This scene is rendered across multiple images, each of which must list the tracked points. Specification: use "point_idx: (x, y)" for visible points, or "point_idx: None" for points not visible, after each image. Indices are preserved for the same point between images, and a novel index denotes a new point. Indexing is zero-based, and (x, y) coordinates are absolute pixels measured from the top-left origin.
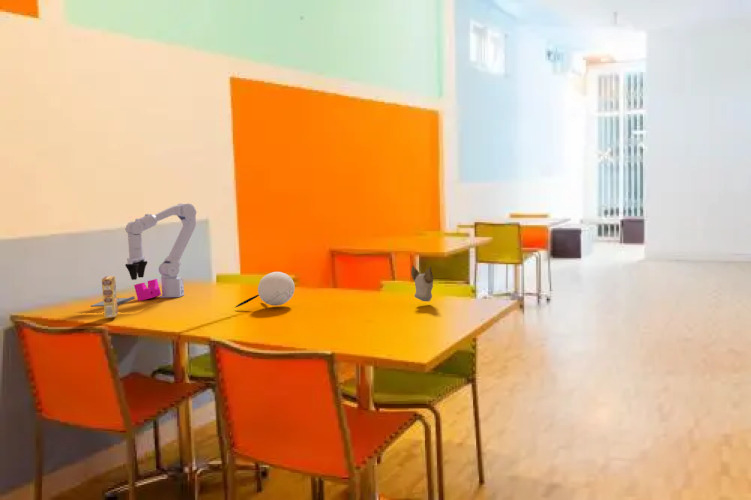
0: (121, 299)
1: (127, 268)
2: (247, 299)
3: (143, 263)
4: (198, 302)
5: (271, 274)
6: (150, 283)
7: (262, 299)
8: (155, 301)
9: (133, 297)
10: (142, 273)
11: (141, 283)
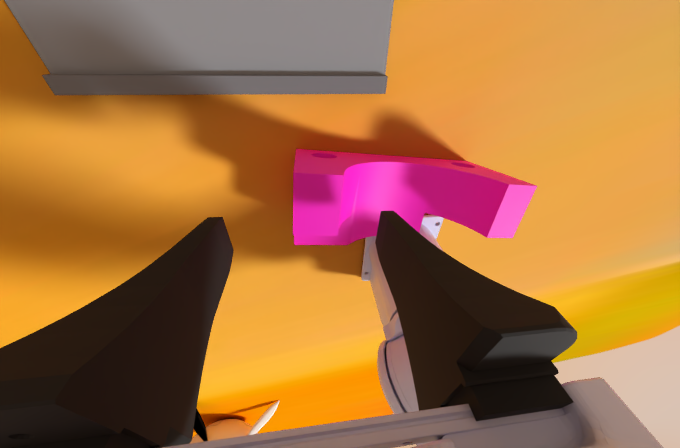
0: (315, 5)
1: (58, 325)
2: (194, 426)
3: (424, 387)
4: (251, 343)
5: None
6: (481, 196)
7: (196, 436)
8: (267, 239)
9: (365, 92)
10: (386, 268)
11: (293, 233)
